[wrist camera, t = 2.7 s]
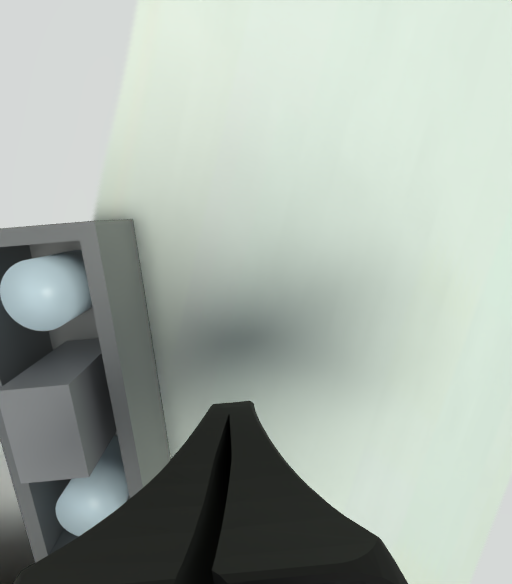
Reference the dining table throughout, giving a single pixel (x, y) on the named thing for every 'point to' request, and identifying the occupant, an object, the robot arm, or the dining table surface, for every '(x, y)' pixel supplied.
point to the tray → (115, 352)
